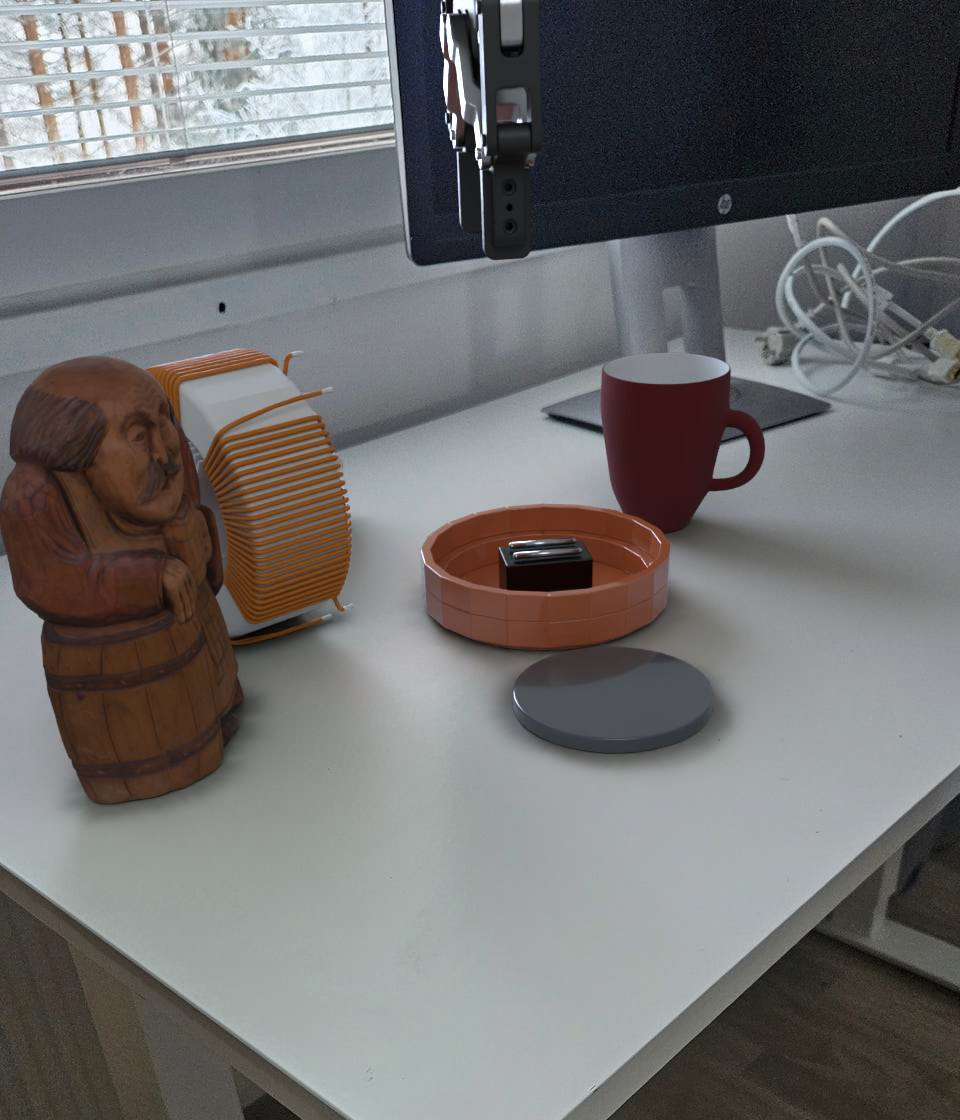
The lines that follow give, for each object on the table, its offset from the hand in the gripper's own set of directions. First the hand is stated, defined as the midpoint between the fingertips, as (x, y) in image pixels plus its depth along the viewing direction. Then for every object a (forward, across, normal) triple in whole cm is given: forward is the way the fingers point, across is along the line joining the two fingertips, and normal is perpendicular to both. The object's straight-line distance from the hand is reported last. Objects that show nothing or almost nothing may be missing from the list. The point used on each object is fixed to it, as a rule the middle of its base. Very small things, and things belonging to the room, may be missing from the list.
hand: (493, 244), depth 62 cm
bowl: (+19, 0, -2) cm, 19 cm away
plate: (+19, -13, -4) cm, 24 cm away
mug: (+20, +11, -14) cm, 26 cm away
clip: (+19, 0, -2) cm, 19 cm away
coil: (+20, +1, +14) cm, 24 cm away
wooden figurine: (+20, -13, +18) cm, 30 cm away
